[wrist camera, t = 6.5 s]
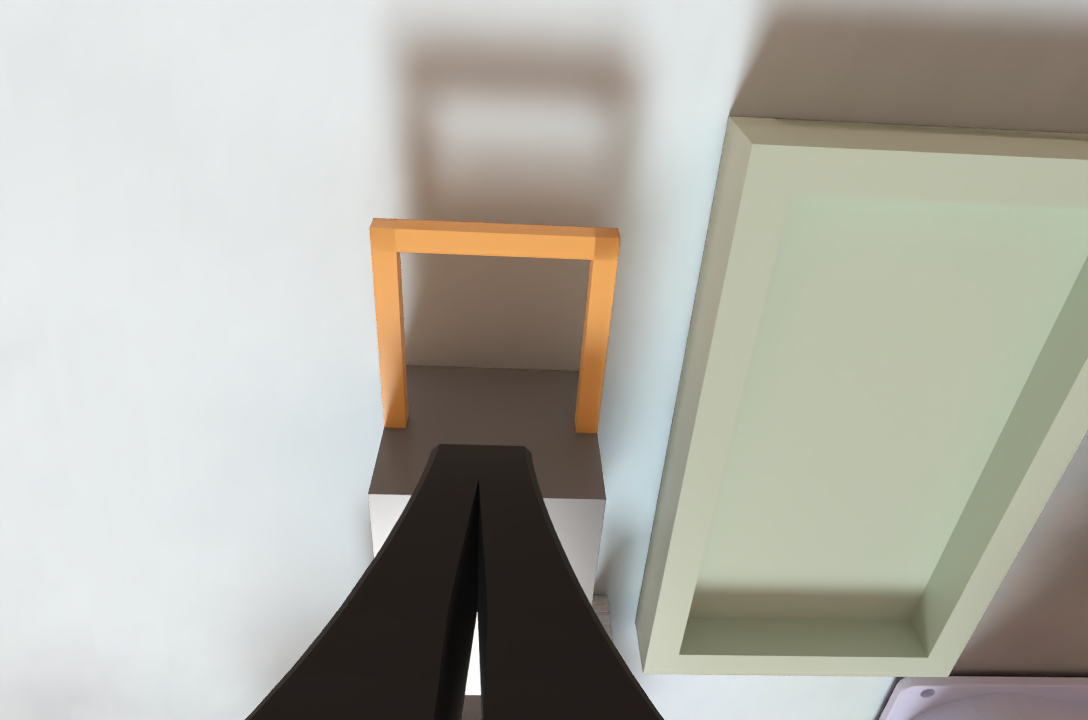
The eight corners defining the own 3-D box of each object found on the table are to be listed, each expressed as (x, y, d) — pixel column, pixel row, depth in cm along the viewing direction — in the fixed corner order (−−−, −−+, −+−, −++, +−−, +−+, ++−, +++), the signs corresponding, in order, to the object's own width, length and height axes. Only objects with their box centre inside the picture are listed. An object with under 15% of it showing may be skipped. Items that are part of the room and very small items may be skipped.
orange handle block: (607, 189, 17) (634, 290, 13) (568, 552, 24) (579, 696, 20) (389, 179, 17) (347, 279, 13) (410, 548, 24) (387, 694, 20)
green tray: (1166, 137, 17) (1237, 166, 15) (920, 625, 26) (947, 677, 25) (728, 116, 16) (752, 143, 15) (635, 621, 26) (643, 674, 24)
